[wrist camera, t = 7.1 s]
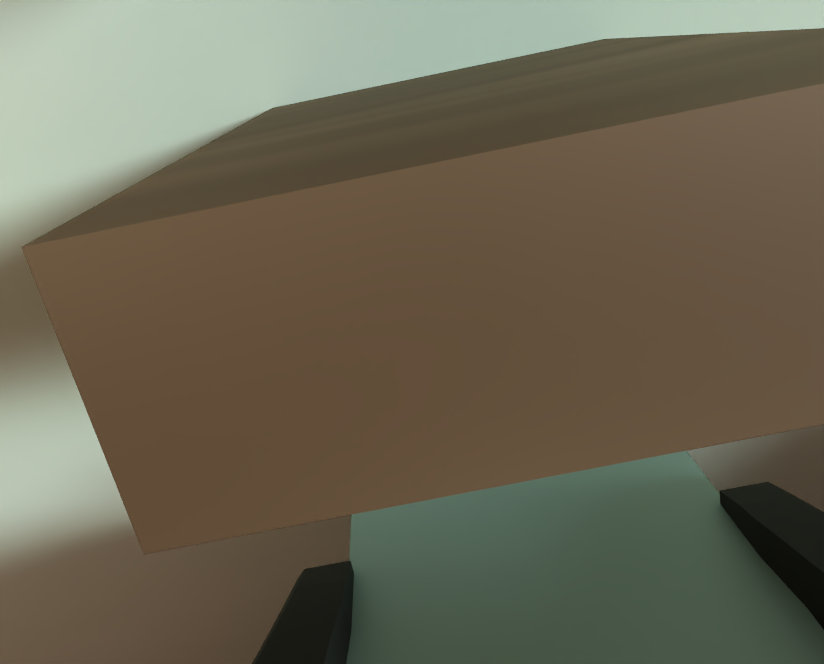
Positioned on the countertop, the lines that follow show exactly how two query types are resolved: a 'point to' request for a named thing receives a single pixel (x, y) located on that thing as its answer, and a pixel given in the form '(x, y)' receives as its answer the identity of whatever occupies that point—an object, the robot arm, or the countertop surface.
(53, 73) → the countertop surface
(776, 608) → the domino
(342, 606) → the robot arm
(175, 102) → the countertop surface
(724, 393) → the domino
